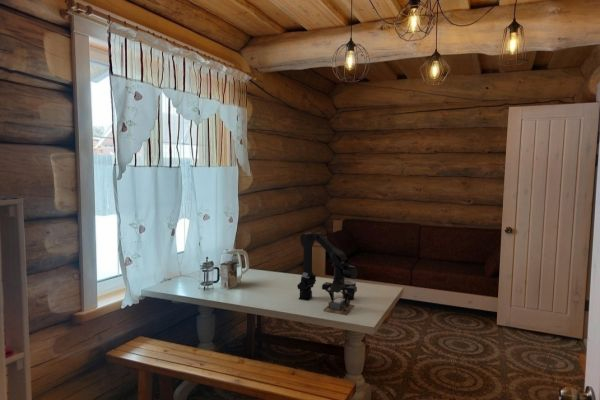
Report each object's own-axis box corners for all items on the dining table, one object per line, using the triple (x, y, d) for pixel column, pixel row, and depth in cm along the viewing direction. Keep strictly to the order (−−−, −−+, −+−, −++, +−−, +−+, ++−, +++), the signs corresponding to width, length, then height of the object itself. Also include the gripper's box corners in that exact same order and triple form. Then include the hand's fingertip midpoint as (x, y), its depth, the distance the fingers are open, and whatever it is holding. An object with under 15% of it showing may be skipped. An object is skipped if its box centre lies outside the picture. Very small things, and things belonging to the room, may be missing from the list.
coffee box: (230, 284, 270) (229, 260, 269) (237, 285, 267) (237, 261, 265) (220, 287, 262) (220, 263, 261) (228, 289, 259) (227, 264, 257)
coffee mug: (358, 298, 243) (358, 282, 242) (349, 302, 237) (349, 285, 236) (343, 293, 251) (343, 278, 250) (334, 297, 245) (334, 281, 244)
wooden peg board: (323, 311, 222) (323, 304, 222) (332, 303, 235) (332, 296, 234) (346, 315, 217) (346, 308, 216) (354, 306, 229) (354, 299, 229)
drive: (329, 309, 223) (329, 301, 222) (337, 303, 231) (338, 296, 231) (339, 311, 220) (339, 303, 219) (347, 305, 228) (347, 298, 228)
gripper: (318, 277, 220) (318, 305, 222) (351, 281, 213) (350, 310, 214) (325, 272, 230) (325, 298, 232) (357, 276, 223) (357, 303, 224)
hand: (339, 302), depth 225 cm, fingers open, 7 cm apart
